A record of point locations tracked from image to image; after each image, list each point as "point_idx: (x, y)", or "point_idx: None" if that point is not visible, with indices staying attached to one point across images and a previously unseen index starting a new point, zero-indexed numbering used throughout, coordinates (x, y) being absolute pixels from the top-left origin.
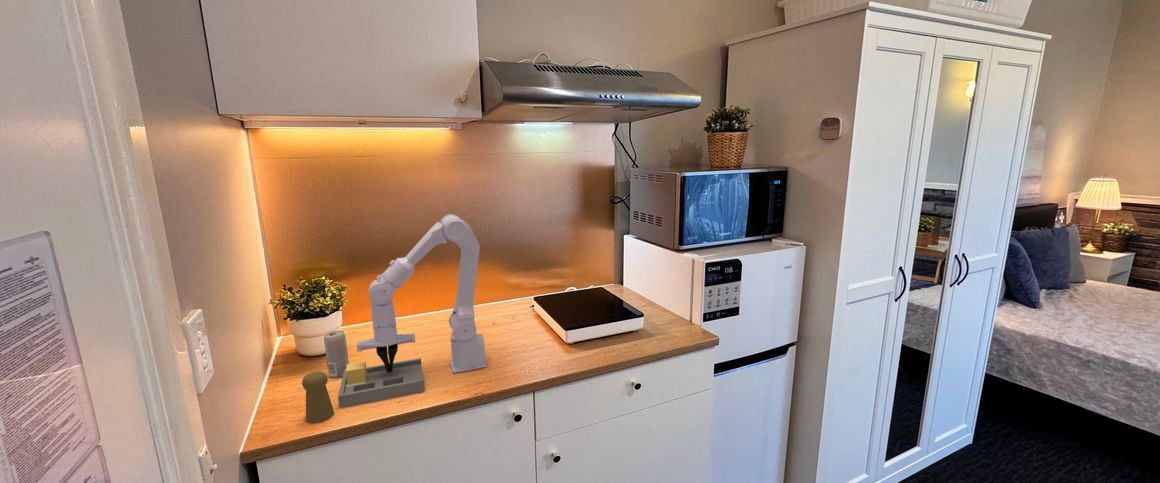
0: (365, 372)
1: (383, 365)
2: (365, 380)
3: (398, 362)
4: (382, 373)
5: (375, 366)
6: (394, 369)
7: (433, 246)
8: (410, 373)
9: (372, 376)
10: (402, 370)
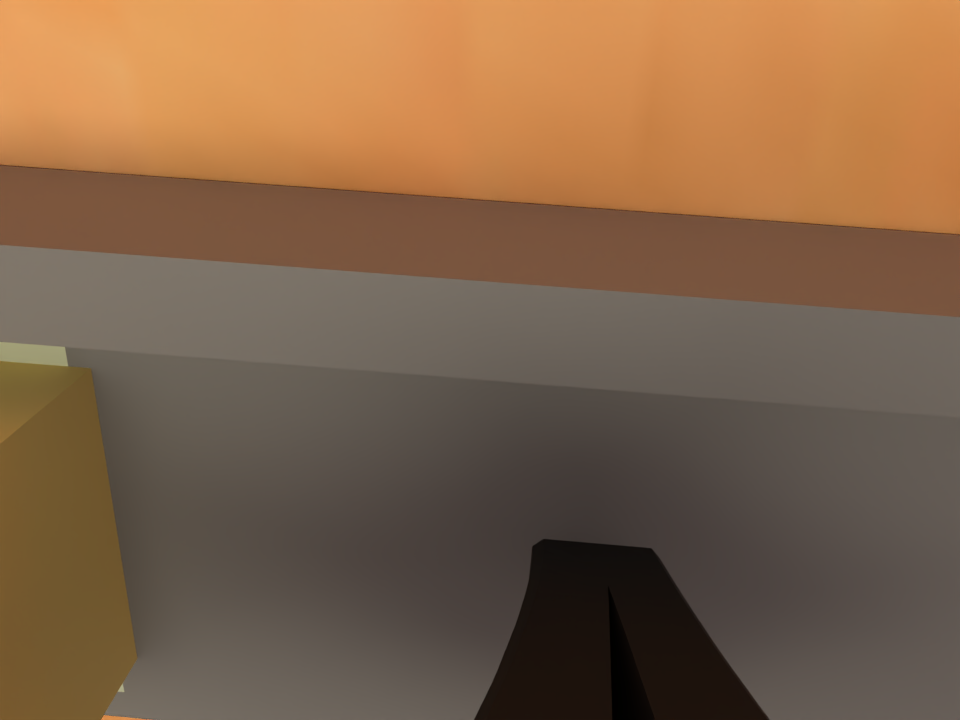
0: (36, 706)
1: (451, 334)
2: (115, 678)
3: (877, 342)
4: (425, 480)
5: (233, 305)
6: (697, 411)
7: None
8: (948, 717)
9: (226, 518)
10: (847, 538)
